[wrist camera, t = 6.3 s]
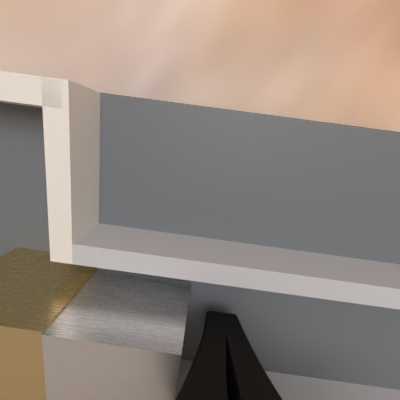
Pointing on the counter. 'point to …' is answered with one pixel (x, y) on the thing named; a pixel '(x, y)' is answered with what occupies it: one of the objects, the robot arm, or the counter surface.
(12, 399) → the mustard yellow cube
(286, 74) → the counter surface
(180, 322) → the light grey cube
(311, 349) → the channel board
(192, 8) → the counter surface
